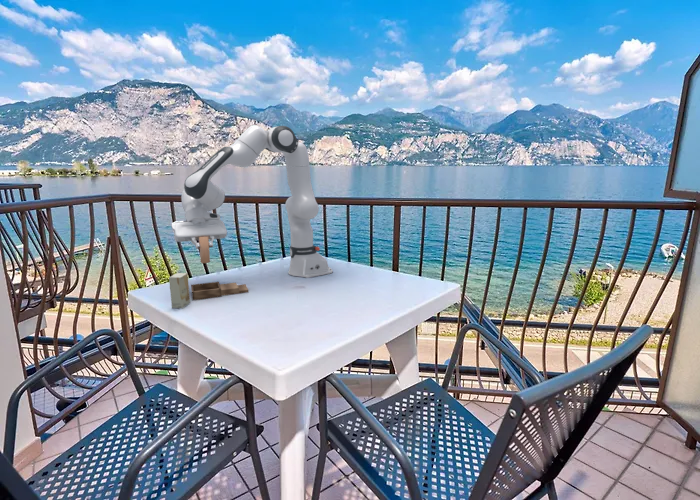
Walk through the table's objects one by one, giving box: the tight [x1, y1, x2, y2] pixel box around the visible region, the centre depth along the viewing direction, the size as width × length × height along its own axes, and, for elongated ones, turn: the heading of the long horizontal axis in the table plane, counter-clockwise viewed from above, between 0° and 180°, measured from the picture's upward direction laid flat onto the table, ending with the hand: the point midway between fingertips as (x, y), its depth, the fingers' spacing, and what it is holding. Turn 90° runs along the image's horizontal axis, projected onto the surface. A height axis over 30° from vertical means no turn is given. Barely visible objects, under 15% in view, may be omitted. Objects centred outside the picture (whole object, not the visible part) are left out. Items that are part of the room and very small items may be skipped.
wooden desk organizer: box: [190, 281, 250, 301], centre depth 148 cm, size 22×10×4 cm, turn 115°
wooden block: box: [198, 236, 211, 264], centre depth 143 cm, size 4×4×10 cm
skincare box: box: [168, 272, 191, 309], centre depth 133 cm, size 6×4×12 cm
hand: (204, 247), depth 143 cm, fingers closed on wooden block, 4 cm apart
